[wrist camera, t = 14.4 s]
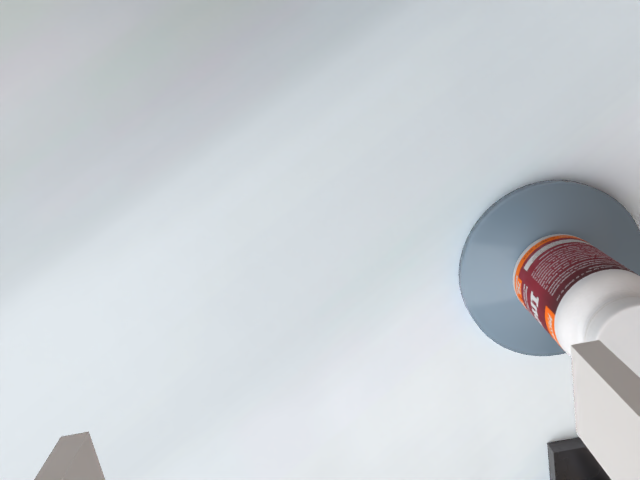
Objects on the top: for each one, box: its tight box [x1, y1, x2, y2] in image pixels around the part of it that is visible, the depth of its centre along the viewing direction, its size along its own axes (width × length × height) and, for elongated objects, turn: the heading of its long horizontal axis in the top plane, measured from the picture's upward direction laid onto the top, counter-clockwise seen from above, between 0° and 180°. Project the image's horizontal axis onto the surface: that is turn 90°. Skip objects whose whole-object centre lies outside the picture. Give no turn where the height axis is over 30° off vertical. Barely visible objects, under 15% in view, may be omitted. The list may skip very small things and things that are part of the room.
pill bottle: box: [513, 234, 640, 377], centre depth 37 cm, size 6×6×11 cm
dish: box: [459, 180, 640, 356], centre depth 43 cm, size 13×13×1 cm
